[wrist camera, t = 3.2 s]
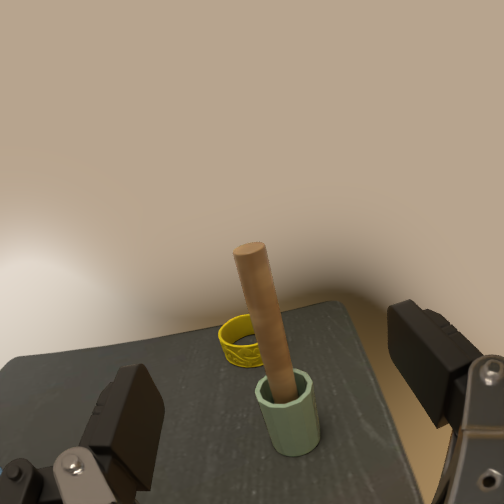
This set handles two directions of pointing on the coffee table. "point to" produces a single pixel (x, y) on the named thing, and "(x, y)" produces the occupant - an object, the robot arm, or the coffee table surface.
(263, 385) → the holder
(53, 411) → the coffee table surface
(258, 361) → the bracelet
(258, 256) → the stick
